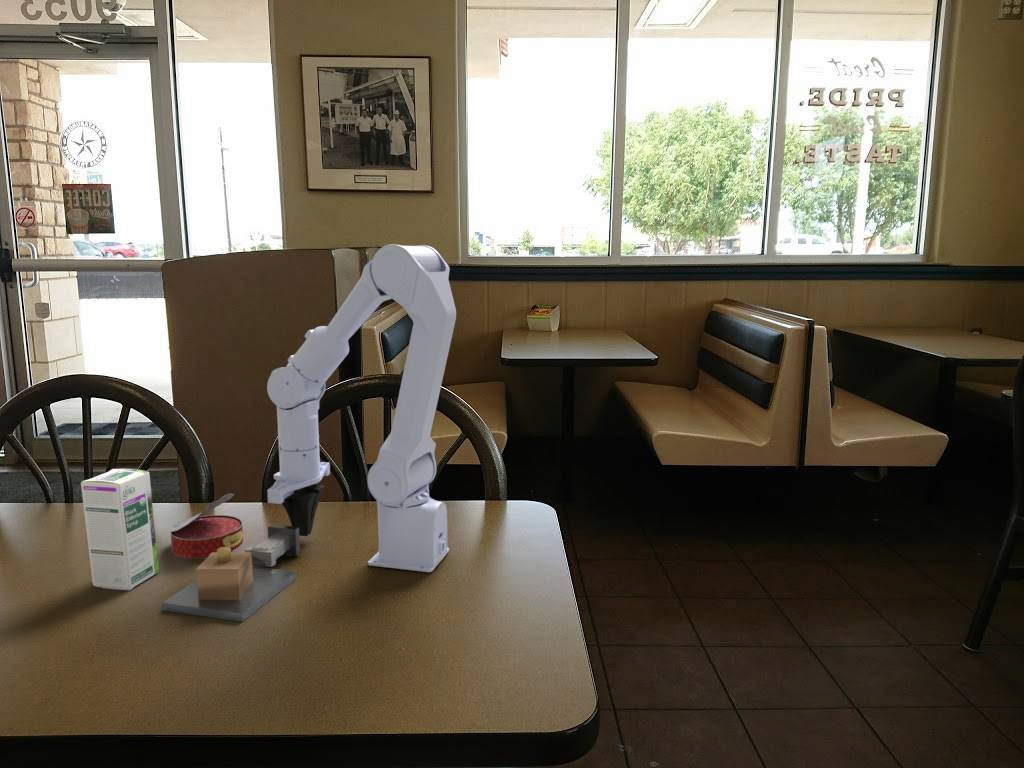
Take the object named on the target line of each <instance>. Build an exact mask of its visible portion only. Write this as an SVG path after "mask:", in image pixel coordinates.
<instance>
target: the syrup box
mask: <svg viewBox="0 0 1024 768" xmlns="http://www.w3.org/2000/svg"><path fill="white" fill-rule="evenodd" d="M150 477H151V475H150V472H149V471H147V470H142V469H135V468H112V469H110V470H109V471H107V472H104V473H101V474H99V475H97V476H94V477H92V478H89V479H85V480H82V481H81V482H80V487H81V497H82V504H83V505H82V506H83V513H84V514H83V515H84V521H85V530H86V538H87V539H86V540H87V547H88V556H89V557H88V558H89V563H90V566H89V567H90V572H91V582H92V583H91V584H92V585H93V587H96V588H102V589H111V590H119V591H131V590H133V589H134V588H135V587H136V586H138V585H140V584H141V583H143V582H145V581H146V580H148V579H149V578H151V577H153V576H154V575H157V574H158V573H159V572H160V567H159V560H158V549H157V548H158V547H157V536H156V528H155V519H154V518H155V514H154V508H153V507H154V506H153V498H152V497H153V496H152V487H151V478H150Z"/></svg>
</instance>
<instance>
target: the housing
mask: <svg viewBox="0 0 1024 768" xmlns="http://www.w3.org/2000/svg"><path fill="white" fill-rule="evenodd" d="M252 566H253V564H252V555H251V552H245V551H244V552H243V551H241V552H239V551H238V552H233V551H231V548H230V547H221V548H218V549H217V552H212V553H211V554H210V555H209V556H208V557H207V558H204V560H203V561H202V563H200V564H199V566H197V568H196V571H195V572H196V580H197V585H198V599H199V600H240V599H241V597H242V596H243V595H244V593H245V592H246V590H247V589H248V588H249V586H250V585H251V584H252V582H253V573H252Z"/></svg>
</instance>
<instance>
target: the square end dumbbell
mask: <svg viewBox="0 0 1024 768" xmlns="http://www.w3.org/2000/svg"><path fill="white" fill-rule="evenodd" d="M300 539H301V538H300V536H299V527H292V525H284V524H283V525H282V524H273V523H271V524H270V525H268V526H267V538H266V539H264V540H263V541H261V542H260V543H258V544H257V545H255V546H254V547H252V546H248V547H246V548H245V549H244V552H251V555H252V566H253V565H254V566H263V567H271V568H272V567H273V566H275V565H276V564H277V559H278V558H280V557H281V556H289V557H298V556H299V555H300V554H301V541H300Z"/></svg>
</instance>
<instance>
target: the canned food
mask: <svg viewBox="0 0 1024 768" xmlns="http://www.w3.org/2000/svg"><path fill="white" fill-rule="evenodd" d="M234 496H235V493H227V494H225V495H223V496H221V497H220V498H219V499H217V500H215V501H212V502H211V503H209V505H207V506H206V507H205V508H204V509H203V511H202V512H200V513H197V514H196V515H194V516H192V517H190V518H189V517H188V518H187V519H186V520H183V521H181V522H178V523H177V524H175V525H174V526H172V528H171V529H170V530H169V532H170V538H171V539H170V540H171V552H172V554H173V555H175V554H176V555H177V557H179V556H180V558H183V557H186V558H185V559H192V558H198V559H206V558H207V557H208V556H209V555H210V554H211V553H212V552H217V549H218V548H221V547H230V548H231V552H233V550H234V551H235V550H237V549H238V547H239V546H240V545H241V544H242V545H243V543H244V535H243V534H244V531H243V530H244V529H243V522H242V520H241V519H240V518H238V517H236V516H232V515H224V514H223V515H222V514H219V515H217V514H214V515H206V514H207V513H208V512H210V511H212V510H213V509H215V508H216V507H219V506H221V505H222V504H223V503H225V502H227V501H229V500H230V499H231V498H233V497H234ZM205 515H206V516H205ZM242 542H243V543H242ZM242 545H241V546H242ZM241 546H240V547H241ZM240 547H239V548H240ZM236 548H237V549H236ZM176 555H175V556H176Z"/></svg>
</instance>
